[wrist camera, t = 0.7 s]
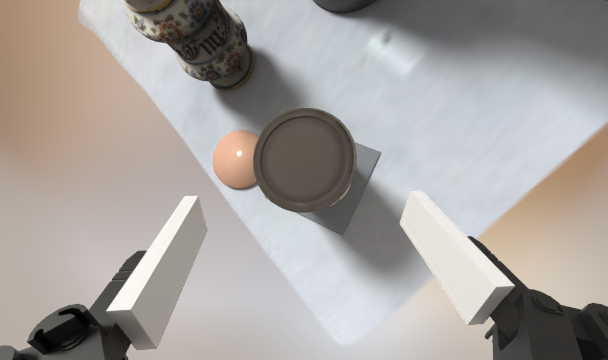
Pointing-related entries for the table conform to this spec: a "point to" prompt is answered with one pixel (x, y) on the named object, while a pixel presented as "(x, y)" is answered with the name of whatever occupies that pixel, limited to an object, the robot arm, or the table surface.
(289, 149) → the coffee can
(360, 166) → the gray tile
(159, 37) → the apothecary jar
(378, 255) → the table surface
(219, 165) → the peach egg
